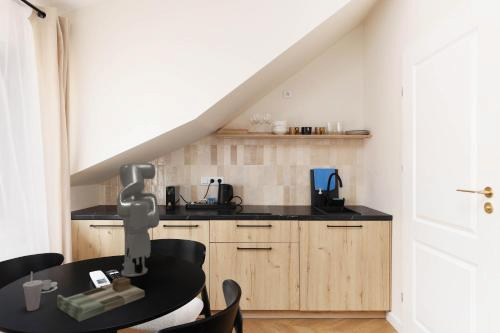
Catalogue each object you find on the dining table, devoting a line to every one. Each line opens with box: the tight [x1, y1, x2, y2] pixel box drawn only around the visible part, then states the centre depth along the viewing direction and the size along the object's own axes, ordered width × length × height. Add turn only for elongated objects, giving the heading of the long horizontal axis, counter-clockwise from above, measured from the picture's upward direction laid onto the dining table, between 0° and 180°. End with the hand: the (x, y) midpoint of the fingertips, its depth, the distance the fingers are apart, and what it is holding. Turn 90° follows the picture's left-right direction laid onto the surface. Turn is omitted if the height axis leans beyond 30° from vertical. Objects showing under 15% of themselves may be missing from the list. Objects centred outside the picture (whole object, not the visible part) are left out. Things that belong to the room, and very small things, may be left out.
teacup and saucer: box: [41, 279, 58, 294], centre depth 135 cm, size 9×8×4 cm
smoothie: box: [22, 271, 44, 312], centre depth 117 cm, size 6×6×14 cm
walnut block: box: [112, 276, 131, 292], centre depth 129 cm, size 5×5×4 cm
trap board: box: [56, 282, 146, 323], centre depth 123 cm, size 18×26×4 cm
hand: (138, 272), depth 135 cm, fingers closed
